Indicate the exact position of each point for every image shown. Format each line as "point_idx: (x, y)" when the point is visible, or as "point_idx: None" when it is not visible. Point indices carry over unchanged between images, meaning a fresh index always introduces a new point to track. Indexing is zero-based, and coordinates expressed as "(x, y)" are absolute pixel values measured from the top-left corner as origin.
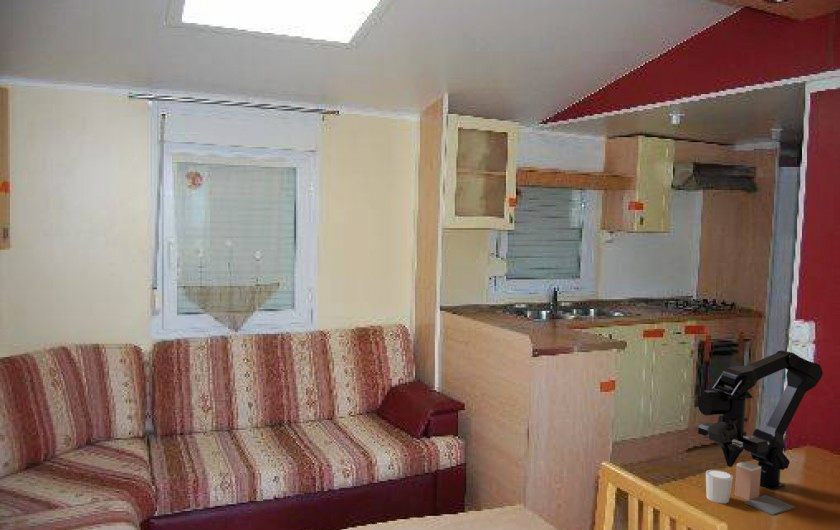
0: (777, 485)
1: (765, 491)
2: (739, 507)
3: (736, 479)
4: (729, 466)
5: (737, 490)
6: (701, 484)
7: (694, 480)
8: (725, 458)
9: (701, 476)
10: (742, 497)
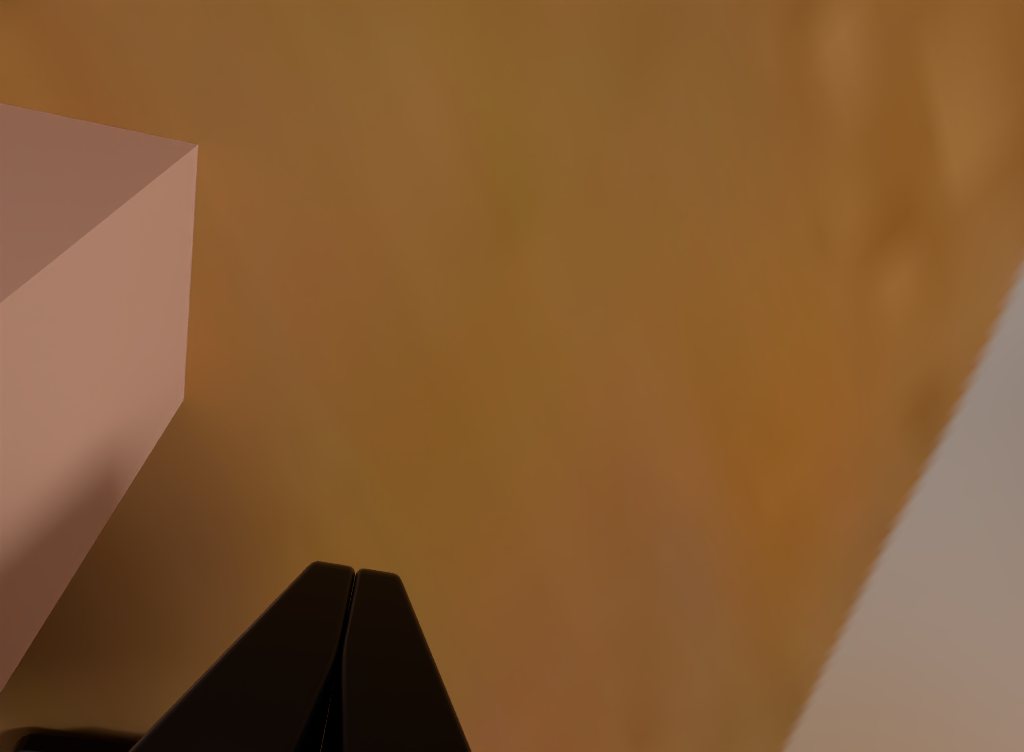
0: None
1: (38, 637)
2: None
3: (43, 245)
4: (325, 562)
5: (99, 157)
6: (815, 102)
7: (972, 184)
8: (448, 732)
9: (909, 447)
10: (20, 109)
